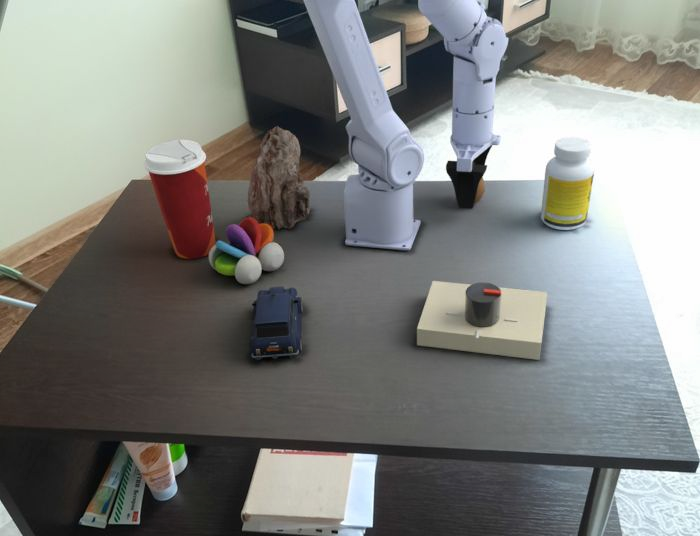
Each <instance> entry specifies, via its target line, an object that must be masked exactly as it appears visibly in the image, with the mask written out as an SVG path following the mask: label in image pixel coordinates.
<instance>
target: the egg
mask: <svg viewBox="0 0 700 536" xmlns="http://www.w3.org/2000/svg"><path fill="white" fill-rule="evenodd" d="M485 185H486V184H485V180H484V176H483V177H482V178H481V180H480V182H479V185H478V189H477V194H476V198H475V202H474V205H476V204H477V203H479V202H480V200H482V198H483V196H484V194H485V190H486V187H485Z"/></svg>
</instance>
